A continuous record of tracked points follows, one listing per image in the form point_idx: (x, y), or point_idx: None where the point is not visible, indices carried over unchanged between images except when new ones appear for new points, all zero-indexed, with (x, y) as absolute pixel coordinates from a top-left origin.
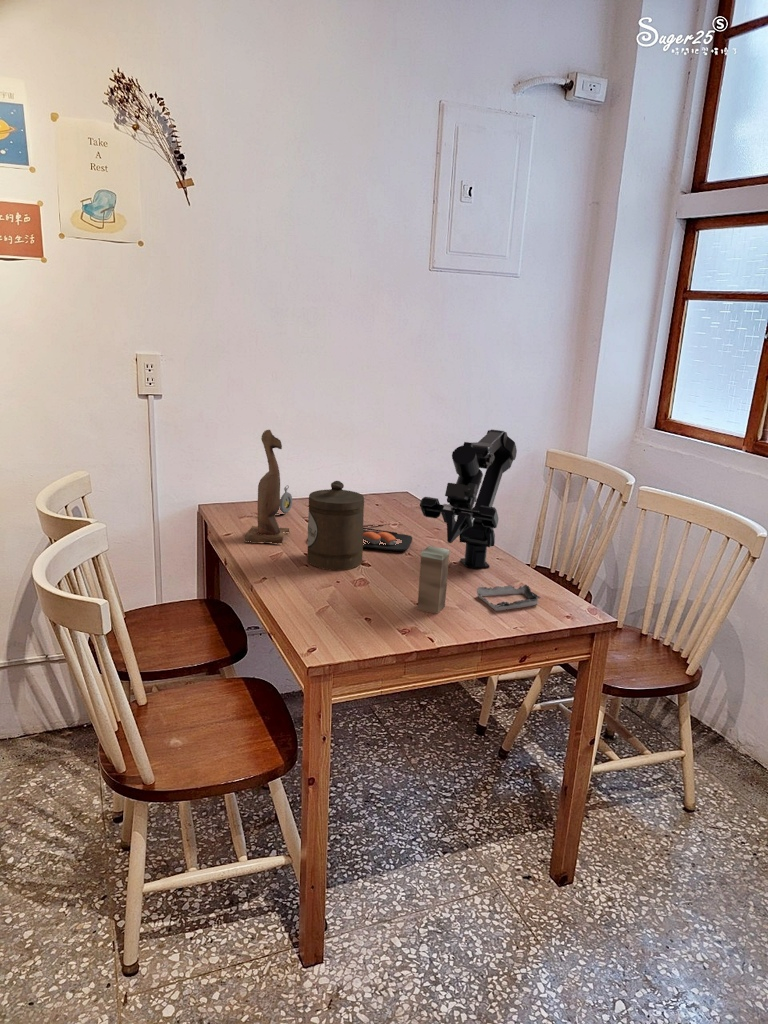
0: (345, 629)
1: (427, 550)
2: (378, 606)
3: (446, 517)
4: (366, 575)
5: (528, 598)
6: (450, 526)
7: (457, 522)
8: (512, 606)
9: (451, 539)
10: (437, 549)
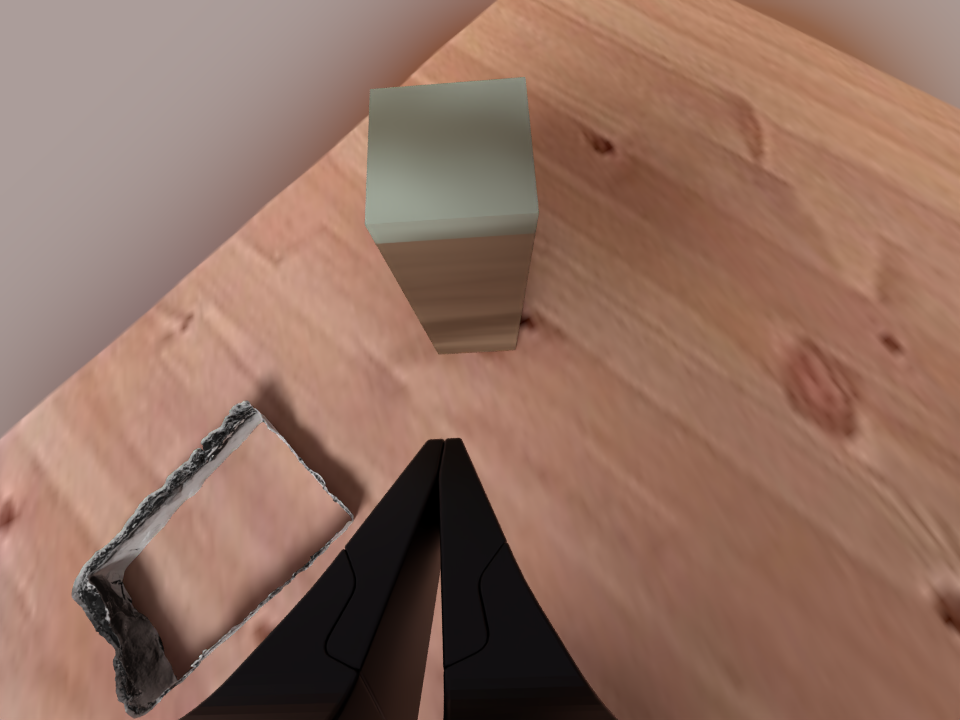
0: (616, 71)
1: (501, 121)
2: (628, 234)
3: (589, 715)
4: (859, 476)
5: (154, 628)
6: (454, 558)
7: (331, 657)
8: (203, 474)
9: (420, 449)
10: (447, 178)
